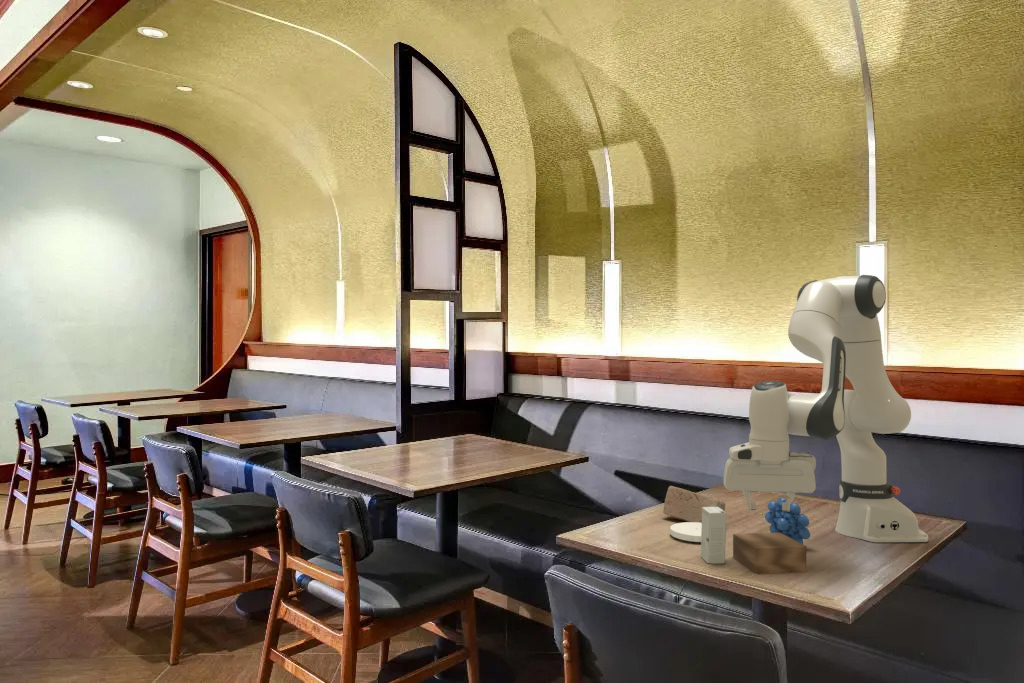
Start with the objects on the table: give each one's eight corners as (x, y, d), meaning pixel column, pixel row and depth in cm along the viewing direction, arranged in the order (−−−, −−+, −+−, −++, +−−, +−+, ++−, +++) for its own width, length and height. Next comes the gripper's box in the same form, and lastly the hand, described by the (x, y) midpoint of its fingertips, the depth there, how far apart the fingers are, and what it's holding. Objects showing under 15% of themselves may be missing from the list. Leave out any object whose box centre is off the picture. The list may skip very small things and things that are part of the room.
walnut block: (780, 556, 175) (780, 532, 175) (806, 572, 164) (806, 546, 163) (733, 558, 174) (733, 533, 174) (756, 575, 162) (756, 548, 162)
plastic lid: (659, 538, 191) (659, 529, 191) (687, 528, 202) (687, 519, 201) (707, 549, 182) (708, 539, 182) (734, 538, 192) (734, 528, 192)
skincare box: (700, 556, 175) (700, 506, 175) (718, 556, 175) (718, 506, 175) (707, 564, 169) (708, 512, 169) (726, 564, 169) (727, 512, 169)
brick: (726, 500, 201) (718, 498, 198) (719, 530, 200) (711, 528, 197) (676, 487, 213) (667, 484, 210) (669, 515, 212) (660, 513, 209)
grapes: (757, 544, 185) (757, 497, 185) (769, 539, 190) (769, 493, 190) (802, 554, 177) (802, 505, 177) (813, 548, 182) (814, 500, 181)
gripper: (812, 450, 170) (812, 508, 170) (722, 448, 173) (722, 505, 173) (819, 454, 164) (819, 515, 164) (725, 452, 167) (725, 511, 167)
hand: (768, 510), depth 169 cm, fingers open, 6 cm apart
